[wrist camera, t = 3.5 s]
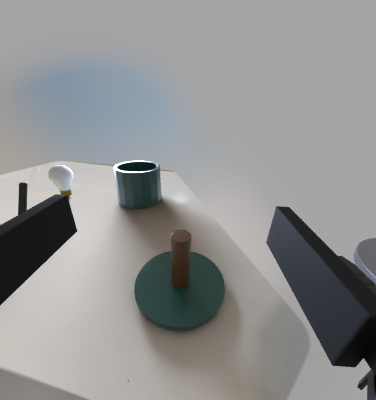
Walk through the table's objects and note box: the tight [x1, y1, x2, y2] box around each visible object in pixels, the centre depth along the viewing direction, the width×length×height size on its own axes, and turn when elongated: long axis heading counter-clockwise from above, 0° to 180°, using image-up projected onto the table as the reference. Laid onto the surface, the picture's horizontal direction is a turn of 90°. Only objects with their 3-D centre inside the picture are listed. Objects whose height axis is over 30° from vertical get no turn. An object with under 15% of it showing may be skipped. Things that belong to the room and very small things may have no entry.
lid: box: [135, 230, 225, 330], centre depth 26 cm, size 14×14×10 cm
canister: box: [114, 161, 161, 209], centre depth 54 cm, size 13×13×10 cm
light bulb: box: [48, 165, 73, 197], centre depth 53 cm, size 6×6×10 cm
